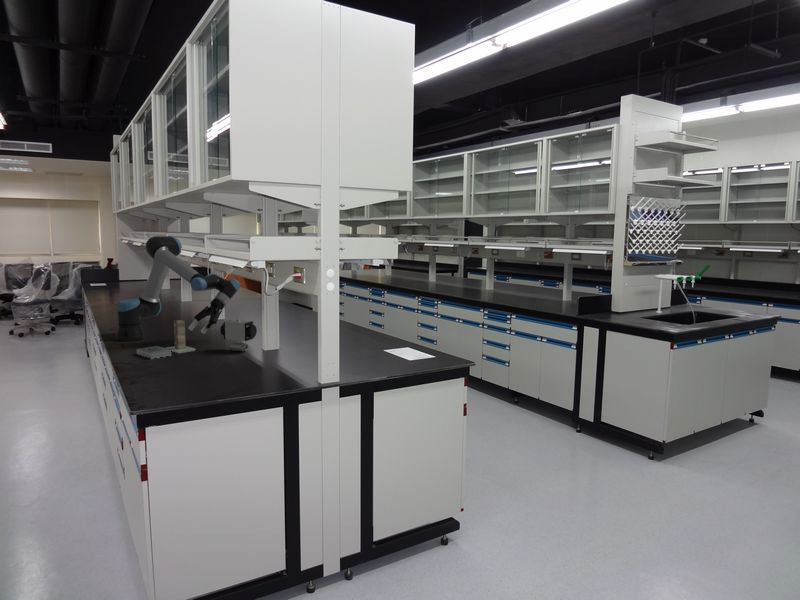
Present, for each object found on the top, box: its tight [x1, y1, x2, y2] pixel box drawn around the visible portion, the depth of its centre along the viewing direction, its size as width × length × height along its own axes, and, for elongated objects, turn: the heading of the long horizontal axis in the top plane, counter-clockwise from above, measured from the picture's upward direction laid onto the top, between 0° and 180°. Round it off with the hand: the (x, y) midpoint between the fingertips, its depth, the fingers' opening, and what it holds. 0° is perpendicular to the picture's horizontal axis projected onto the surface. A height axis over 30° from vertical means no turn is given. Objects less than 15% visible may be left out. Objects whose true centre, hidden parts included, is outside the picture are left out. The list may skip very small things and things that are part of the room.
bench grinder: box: [219, 317, 258, 352], centre depth 277 cm, size 18×8×18 cm, turn 76°
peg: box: [173, 319, 187, 349], centre depth 276 cm, size 4×4×15 cm
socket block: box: [136, 345, 172, 360], centre depth 264 cm, size 16×10×3 cm, turn 50°
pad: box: [164, 345, 197, 354], centre depth 277 cm, size 14×10×1 cm
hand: (195, 331), depth 283 cm, fingers open, 13 cm apart
